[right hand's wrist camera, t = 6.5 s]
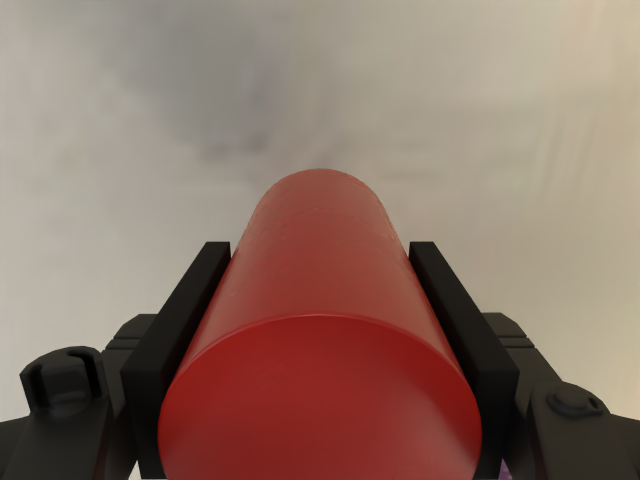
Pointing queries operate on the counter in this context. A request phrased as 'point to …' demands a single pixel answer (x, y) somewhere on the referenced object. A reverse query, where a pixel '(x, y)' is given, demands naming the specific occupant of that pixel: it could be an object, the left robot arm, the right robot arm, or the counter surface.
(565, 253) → the counter surface
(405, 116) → the counter surface
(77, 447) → the right robot arm
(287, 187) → the can
